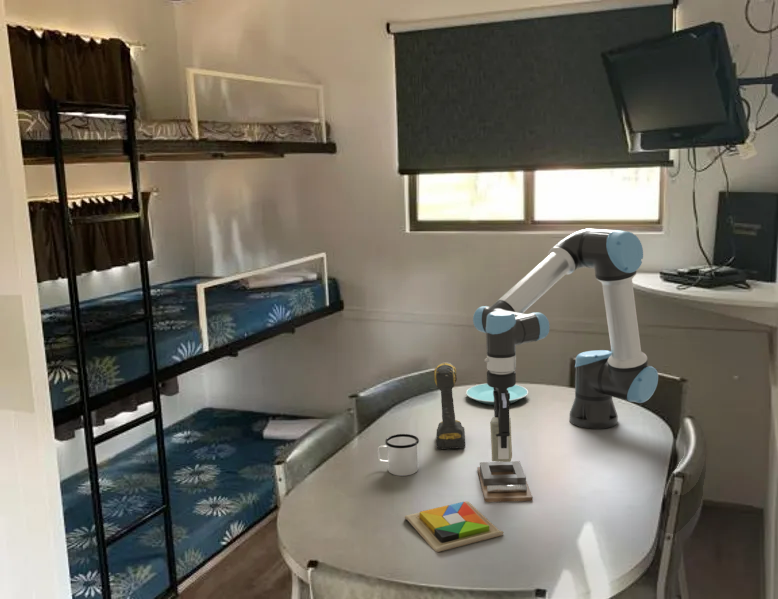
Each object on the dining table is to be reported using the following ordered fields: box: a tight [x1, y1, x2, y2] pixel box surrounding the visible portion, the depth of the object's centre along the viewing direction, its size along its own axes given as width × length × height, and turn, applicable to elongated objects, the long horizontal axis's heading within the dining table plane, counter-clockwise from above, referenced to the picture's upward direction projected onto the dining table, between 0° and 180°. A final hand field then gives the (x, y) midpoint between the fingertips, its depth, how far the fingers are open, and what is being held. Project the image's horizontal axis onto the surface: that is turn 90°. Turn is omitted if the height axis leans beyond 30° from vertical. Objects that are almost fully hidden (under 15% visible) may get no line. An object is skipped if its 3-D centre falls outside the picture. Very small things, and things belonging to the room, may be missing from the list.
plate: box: [465, 382, 529, 406], centre depth 277 cm, size 22×22×3 cm
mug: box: [377, 433, 420, 477], centre depth 217 cm, size 12×10×9 cm
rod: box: [487, 485, 527, 493], centre depth 198 cm, size 10×2×2 cm, turn 89°
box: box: [489, 416, 513, 462], centre depth 206 cm, size 5×4×11 cm
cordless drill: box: [433, 361, 466, 450], centre depth 236 cm, size 9×20×25 cm, turn 174°
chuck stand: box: [477, 460, 533, 503], centre depth 205 cm, size 12×20×3 cm, turn 179°
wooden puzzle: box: [404, 501, 504, 553], centre depth 182 cm, size 18×19×4 cm
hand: (502, 454), depth 206 cm, fingers closed on box, 5 cm apart
